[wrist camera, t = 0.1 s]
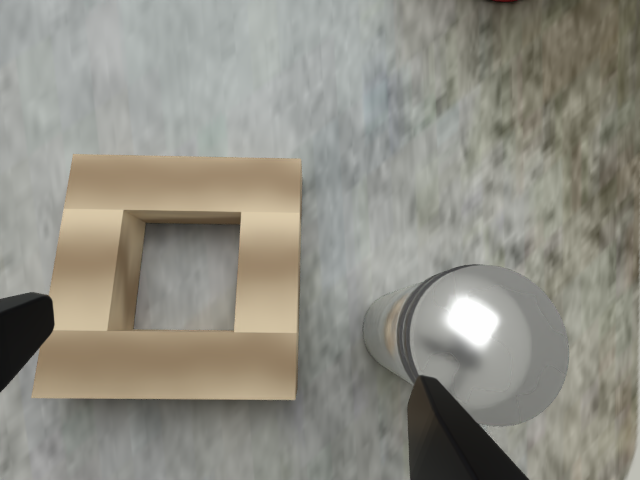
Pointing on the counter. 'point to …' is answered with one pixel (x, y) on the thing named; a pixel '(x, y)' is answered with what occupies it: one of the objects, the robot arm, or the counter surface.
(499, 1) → the canned food
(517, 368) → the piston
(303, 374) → the counter surface
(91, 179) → the tan square ring
